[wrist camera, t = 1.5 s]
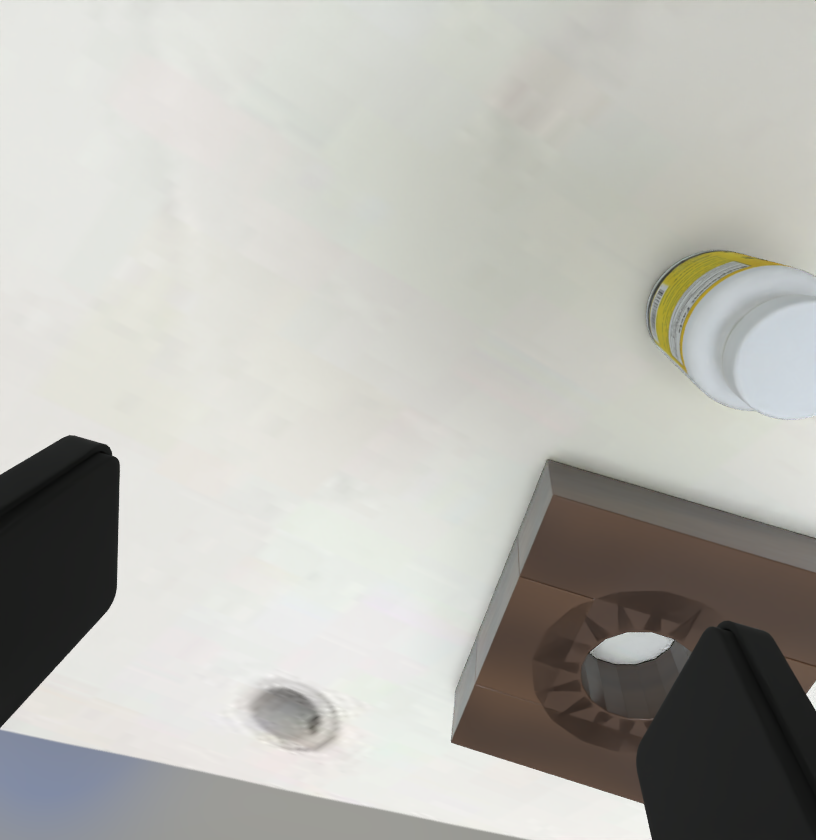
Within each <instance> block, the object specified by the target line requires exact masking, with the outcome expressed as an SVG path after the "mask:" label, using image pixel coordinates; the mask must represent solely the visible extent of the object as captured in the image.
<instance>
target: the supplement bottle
mask: <svg viewBox="0 0 816 840" xmlns="http://www.w3.org/2000/svg"><path fill="white" fill-rule="evenodd" d="M646 321H647V327H648V330H649V333H650V336H651V338H652V340H653V341H654V343H655V344H656V346H657V347H658V348H659V349H660V350H661V351H662V352H663V353H664V354H665V355H666V356H667V357H668V358H669V359H670V360H671V361H672V362H673V363H674V364H675V365H676V366H677V367H678V368H679V369H680V370H681V371H682V372H683V373H684V374H685V375H686V376H687V377H688V378H689V379H690V380H691V381H692V382H693V383H694V384H695V385H696V386H697V387H698V388H699V389H700V390H701V391H703V392H704V393H705V394H706V395H707V396H709V397H710V398H711V399H713V400H715V401H716V402H718V403H720V404H723V405H725V406H727V407H731V408H734V409H739V410H746V411H757V412H759V413H761V414H763V415H766V416H769V417H773V418H777V419H787V420H796V419H803V418H808V417H812V416H815V415H816V276H814V275H812V274H810V273H808V272H805V271H803V270H800V269H797V268H794V267H790V266H786V265H782V264H778V263H774V262H770V261H767V260H763V259H759V258H755V257H751V256H747V255H744V254H740V253H736V252H731V251H723V250H710V251H704V252H699V253H696V254H693V255H690V256H688V257H686V258H684V259H682V260H680V261H679V262H677V263H676V264H674V265H673V266H672V267H670V268H669V269H668V270H667V271H666V272H665V273H664V274H663V275H662V276H661V277H660V279H659V280H658V281H657V283H656V284H655V286H654V288H653V290H652V292H651V294H650V297H649V299H648V304H647V310H646Z"/></svg>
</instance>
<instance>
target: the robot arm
mask: <svg viewBox="0 0 816 840" xmlns="http://www.w3.org/2000/svg"><path fill="white" fill-rule="evenodd" d="M119 478H120V464H119V460H118V459H117V458H116V457H114V456H112V451H111V449H110V447H109V446H107V445H106V444H102V443H98V442H95V441H91V440H88V439H84V438H81V437H77V436H71V435H69V436H66V437H64V438H62V439H60V440H59V441H57V442H55V443H53V444H52V445H50V446H48V447H47V448H45V449H43V450H42V451H40V452H38V453H36V454H35V455H33V456H31V457H30V458H28V459H26V460H25V461H23V462H21V463H20V464H18V465H16V466H14V467H13V468H11V469H9V470H8V471H6V472H4V473H3V474H1V475H0V728H1V726H2V725H3V724H4V723H5V722H6V721H7V720H8V719H9V718H10V717H11V716H12V714H13V713H14V712H15V711H16V710H17V709H18V708H19V707H20V706H21V705H22V704H23V702H24V701H25V700H26V699H27V698H28V697H29V696H30V695H31V694H32V693H33V692H34V690H35V689H36V688H37V687H38V686H39V685H40V684H41V683H42V682H43V681H44V680H45V678H46V677H47V676H48V675H49V674H50V673H51V672H52V671H53V670H54V669H55V668H56V666H57V665H58V664H59V663H60V662H61V661H62V660H63V659H64V658H65V657H66V656H67V654H68V653H69V652H70V651H71V650H72V649H73V648H74V647H75V646H76V645H77V644H78V642H79V641H80V640H81V639H82V638H83V637H84V636H85V635H86V634H87V633H88V632H89V630H90V629H91V628H92V627H93V626H94V625H95V624H96V623H97V622H98V621H99V620H100V618H101V617H102V616H103V615H104V614H105V613H106V612H107V610H108V609H109V608H110V606H111V604H112V602H113V600H114V598H115V594H116V589H117V558H118V518H119ZM636 768H637V774H638V778H639V783H640V787H641V792H642V796H643V801H644V805H645V810H646V814H647V819H648V823H649V828H650V832H651V837H652V840H816V711H815V709H814V707H813V705H812V704H811V702H810V700H809V699H808V697H807V695H806V693H805V692H804V690H803V688H802V687H801V685H800V683H799V681H798V680H797V678H796V676H795V674H794V673H793V671H792V669H791V668H790V666H789V664H788V662H787V661H786V659H785V657H784V656H783V654H782V652H781V650H780V649H779V647H778V645H777V644H776V642H775V640H774V639H773V637H772V636H771V635H770V634H769V633H768V632H766V631H763V630H760V629H756V628H753V627H749V626H746V625H742V624H739V623H735V622H732V621H723V622H721V623H720V624H718V626H717V627H713V626H712V627H708V628H707V629H706V630H705V631H704V632H703V634H702V636H701V637H700V639H699V641H698V642H697V644H696V646H695V648H694V649H693V651H692V653H691V655H690V656H689V658H688V660H687V662H686V663H685V665H684V667H683V669H682V670H681V672H680V674H679V676H678V677H677V679H676V681H675V683H674V684H673V686H672V688H671V689H670V691H669V693H668V695H667V696H666V698H665V700H664V702H663V703H662V705H661V707H660V709H659V710H658V712H657V714H656V716H655V717H654V719H653V721H652V723H651V724H650V726H649V728H648V730H647V731H646V733H645V735H644V736H643V738H642V740H641V742H640V744H639V746H638V750H637V755H636Z"/></svg>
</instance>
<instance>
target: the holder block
mask: <svg viewBox="0 0 816 840" xmlns="http://www.w3.org/2000/svg"><path fill="white" fill-rule="evenodd" d="M723 621H732V622H735V623H739V624H742V625H746V626H749V627H753V628H756V629H760V630H763V631H766V632H768V633H769V634H770V635H771V636H772V637H773V639H774V640H775V642H776V644H777V645H778V647H779V649H780V650H781V652H782V654H783V656H784V657H785V659H786V661H787V662H788V664H789V666H790V668H791V669H792V671H793V673H794V674H795V676H796V678H797V680H798V681H799V683H800V685H801V687H802V688H803V690H804V692H805V693H807V692H808V691H809V689H810V688H811V687H812V685H813V684H814V683H815V681H816V539H814V538H811V537H808V536H804V535H801V534H797V533H794V532H791V531H787V530H784V529H780V528H777V527H774V526H770V525H767V524H764V523H760V522H757V521H753V520H750V519H747V518H743V517H740V516H737V515H733V514H730V513H726V512H723V511H720V510H716V509H713V508H709V507H706V506H703V505H699V504H696V503H693V502H689V501H686V500H682V499H679V498H676V497H672V496H669V495H666V494H662V493H659V492H655V491H652V490H649V489H645V488H642V487H638V486H635V485H632V484H628V483H625V482H622V481H618V480H615V479H611V478H608V477H605V476H601V475H598V474H595V473H591V472H588V471H584V470H581V469H578V468H574V467H571V466H568V465H564V464H561V463H557V462H554V461H551V460H547V462H546V464H545V467H544V469H543V472H542V474H541V477H540V479H539V482H538V484H537V487H536V489H535V492H534V494H533V497H532V499H531V502H530V504H529V507H528V509H527V512H526V514H525V517H524V519H523V522H522V525H521V527H520V530H519V532H518V535H517V537H516V539H515V542H514V544H513V547H512V549H511V552H510V554H509V557H508V559H507V562H506V564H505V567H504V569H503V572H502V575H501V577H500V580H499V582H498V585H497V587H496V590H495V592H494V595H493V597H492V600H491V602H490V605H489V607H488V610H487V612H486V615H485V617H484V620H483V622H482V625H481V627H480V630H479V632H478V636H477V638H476V640H475V643H474V645H473V648H472V650H471V653H470V655H469V658H468V660H467V663H466V666H465V668H464V671H463V673H462V676H461V678H460V681H459V683H458V686H457V688H456V691H455V702H454V713H453V724H452V735H451V743H454V744H457V745H460V746H463V747H466V748H470V749H473V750H476V751H479V752H482V753H485V754H489V755H492V756H495V757H498V758H501V759H504V760H507V761H511V762H514V763H517V764H520V765H523V766H526V767H530V768H533V769H536V770H539V771H542V772H545V773H548V774H552V775H555V776H558V777H561V778H564V779H567V780H571V781H574V782H577V783H580V784H583V785H586V786H589V787H593V788H596V789H599V790H602V791H605V792H608V793H612V794H615V795H618V796H621V797H624V798H627V799H630V800H634V801H637V802H640V803H643V804H644V801H643V796H642V792H641V787H640V783H639V778H638V774H637V768H636V755H637V750H638V746H639V744H640V742H641V740H642V738H643V736H644V735H645V733H646V731H647V730H648V728H649V726H650V724H651V723H652V721H653V719H654V717H655V716H656V714H657V712H658V710H659V709H660V707H661V705H662V703H663V702H664V700H665V698H666V696H667V695H668V693H669V691H670V689H671V688H672V686H673V684H674V683H675V681H676V679H677V677H678V676H679V674H680V672H681V670H682V669H683V667H684V665H685V663H686V662H687V660H688V658H689V656H690V655H691V653H692V651H693V649H694V648H695V646H696V644H697V642H698V641H699V639H700V637H701V636H702V634H703V632H704V631H705V630H706V629H707V628H708V627H712V626H713V627H717V626H718V624H720V623H721V622H723ZM626 632H653V633H656V634H659V635H662V636H666V637H669V638H672V639H675V641H674V643H673V644H672V646H671V648H670V649H669V650H667V651H666V652H664V653H663V654H662V655H660V656H659V657H658V658H656V659H655V660H651V661H648V662H645V663H641V664H638V665H614V664H611V663H607V662H604V661H601V660H598V659H596V658H594V657H593V656H592V655H590V654H589V652H590V651H591V650H592V649H594V648H595V647H596V646H597V645H599V644H600V643H601V642H603V641H604V640H605V639H607V638H611V637H614V636H617V635H620V634H623V633H626Z"/></svg>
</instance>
